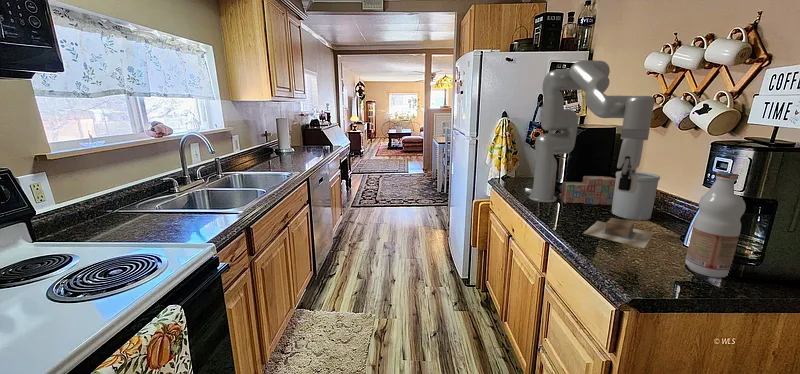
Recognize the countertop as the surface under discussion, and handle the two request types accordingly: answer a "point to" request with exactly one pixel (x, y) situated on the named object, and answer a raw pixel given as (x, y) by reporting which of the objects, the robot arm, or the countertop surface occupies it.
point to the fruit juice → (716, 228)
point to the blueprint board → (635, 239)
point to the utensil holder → (636, 198)
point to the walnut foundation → (619, 227)
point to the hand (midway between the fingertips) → (625, 187)
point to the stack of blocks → (589, 190)
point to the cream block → (633, 183)
